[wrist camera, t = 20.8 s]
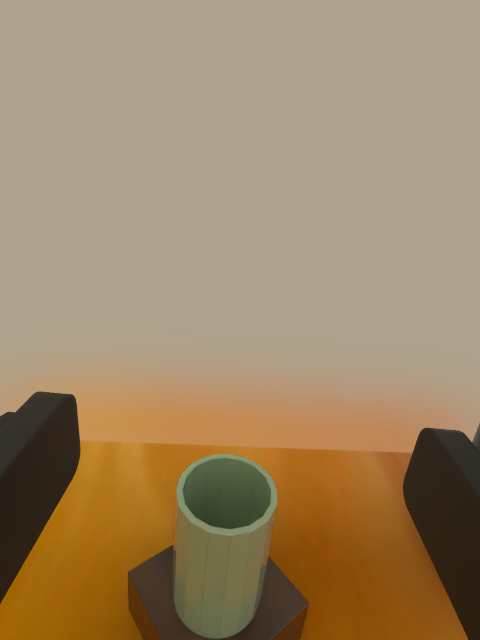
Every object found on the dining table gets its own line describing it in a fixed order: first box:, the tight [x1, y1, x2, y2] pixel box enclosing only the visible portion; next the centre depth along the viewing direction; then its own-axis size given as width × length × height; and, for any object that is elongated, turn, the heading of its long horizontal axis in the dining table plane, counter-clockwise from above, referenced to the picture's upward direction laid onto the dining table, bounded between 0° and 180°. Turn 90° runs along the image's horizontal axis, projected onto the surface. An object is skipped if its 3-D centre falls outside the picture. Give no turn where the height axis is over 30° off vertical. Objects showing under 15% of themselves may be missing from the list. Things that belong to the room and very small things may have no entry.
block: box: [128, 544, 309, 640], centre depth 26 cm, size 9×9×4 cm
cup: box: [172, 454, 277, 639], centre depth 24 cm, size 6×6×9 cm
